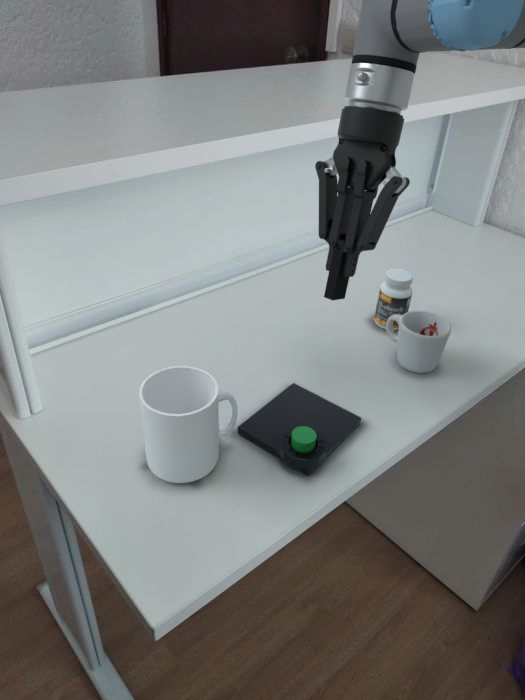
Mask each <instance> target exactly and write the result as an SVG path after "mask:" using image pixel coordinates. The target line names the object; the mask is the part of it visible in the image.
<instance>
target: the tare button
mask: <svg viewBox="0 0 525 700" xmlns="http://www.w3.org/2000/svg"><path fill="white" fill-rule="evenodd" d="M316 437H317V435H316V432H315V431H314V430H313V429H311V428H309V427H306V426H300V427H297V428H295V429H294V430H293V431H292V436H291V446H292V448H293V449H294V450H295V451H297V452H300V453H309V452H311V451H313V450H314V448H315V445H316Z"/></svg>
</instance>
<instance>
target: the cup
mask: <svg viewBox="0 0 525 700" xmlns="http://www.w3.org/2000/svg"><path fill="white" fill-rule="evenodd" d="M394 321H396V322H397V323H398V325H399V330H398V334H397V333H396V332H395V330H393V322H394ZM385 331H386V335H387V336H388V338H389V339H390V340H392V341H393V342H394V343H397V344H396V359H397V362H398V363H399V365H400V366H401V367H402V368H404V369H405V370H406V371H409V372H411V373H417V374H426V373H430V372H431V371H433V370H434V369H436V368H437V366H438V365H439V362H440V359H441V357H442V354H443V352H444V350H445V348H446V345H447V343H448V341H449V338H450V335H451V333H452V326H451V323H450V322H449V321H448V319H446V317H443V316H442V315H441V314H438V313H435V312H432V311H428V310H420V309H419V310H410V311H408V312H407V313H405V314H404V315H398V314H395V315H392V316H390V317H389V318H388V320H387V323H386V329H385Z"/></svg>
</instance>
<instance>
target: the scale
mask: <svg viewBox="0 0 525 700" xmlns="http://www.w3.org/2000/svg"><path fill="white" fill-rule="evenodd" d="M361 422H362V417H361V416H359V415H357V414H355V413H353V412H352V411H349V410H347V409H345V408H343V407H341V406H339V405H337V404H335V403H333V402H331V401H330V400H328V399H326V398H324V397H322V396H320V395H318V394H316V393H314V392H312V391H310V390H308V389H307V388H304V387H302V386H300V385H299V384H297V383H295V382H293V383H291V384H290V385H289V386H287V387H286V388H285V389H284V390H283V391H281V392H280V393H278V394H277V395H276V396H274V398H272V399H271V400H270V401H268V403H266V404H265V405H264V406H262V407H261V408H260V409H258V410H256V412H254V413H253V414H252V415H250V417H248V418H247V419H246V420H244V421H243V422H242V423H241V424H239V425H238V426H237V435H239V436H241V437H242V438H244V439H246V440H247V441H249V442H251V443H252V444H254V445H255V446H256V447H259V448H261V449H262V450H263V451H265V452H267V453H269V454H270V455H272V456H274V457H276V458H277V459H279V460H280V461H282V462H284V463H285V464H286V465H289V466H290V467H292V468H293V469H295V470H297V471H299V472H300V473H302V474H303V475H305V476H307V477H309V476H310V475H312V474H313V473H314V471H315V470H316V469H317V468H318V467H319V466H320V465H321V464H322V463H323V462H324V461H325V460H327V458H328V457H330V455H331V454H332V453H333V452H334V451H336V450H337V448H338V447H339V446H340V445H341V444H342V443H343V442H344V441H345V440H346V439H347V438H348V437H349V436H350V435H351V434H352V433H354V431H355V430H356V429H357V428H358V427H359V426H360V425H361ZM300 426H306V427H309V428H311V429H313V430H314V431H315V432H316V435H317V437H316V445H315V448H314V450H313V451H311V452H309V453H300V452H297V451H295V450H294V449H293V448H292V446H291V436H292V431H293V430H294V429H295V428H297V427H300Z"/></svg>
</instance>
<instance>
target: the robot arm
mask: <svg viewBox="0 0 525 700" xmlns="http://www.w3.org/2000/svg"><path fill="white" fill-rule="evenodd" d="M353 46H354V47H353V51H352V58H351V63H350V68H349V72H348V78H347V84H346V89H345V94H344V100H345V101H346V102H347V103H348V105H345V106H344V107H343V108H341V113H340V118H339V119H340V120H339V123H338V128H337V138H338V143H337V146H336V147H335V149H334V150H333V153H332V156H331V157H329V158H327V159H325V160H324V161H322V160H318V161H317V162H315V165H314V167H315V172H316V175H317V178H318V237H319V239H321V240H324V241H325V242H326V243H327V244H328V253H327V258H326V263H325V270H326V271H327V272H328V274H327V281H326V285H325V290H324V294H323V298H325V299H328V300H331V301H339V300H344V299H346V295H347V290H348V286H349V281H350V278H353V277H354V276H355V274H356V271H357V267H358V262H359V258H360V255H361V253H362V252H367V251H374V250H375V249H376V248H377V247H376V246H377V245H378V242H379V241H380V238H381V236H382V234H383V231H384V229H385V227H386V225H387V223H388V221H389V220H390V219H389V218H390V217H391V215H392V212H393V211H394V209H395V206H396V204H397V201H398V199H399V197H400V196H401V195H402V193H403V192H404V191H405V190H406V189H407V188H408V187H409V186H410V184H411V182H410V178H409V177H407V176H403V175H402V174H401V173H400V172H399V170H398V169H397V168H396V167H397V166H396V165H397V160H396V151H397V148H398V146H399V144H400V141H401V137H402V132H403V129H404V128H403V127H404V124H405V118H404V115H402V114H401V113H402V111H404V112H405V111H407V109H408V108H409V107H408V106H409V102H410V98H411V94H412V88H413V83H414V79H415V75H416V72H417V65H418V61H419V57H420V54H421V53H427V52H428V53H429V52H430V53H431V52H453V51H454V52H466V51H470V52H473V51H474V52H475V51H486V50H507V49H508V50H511V49H525V0H362V2H361V7H360V12H359V18H358V23H357V30H356V35H355V41H354V45H353ZM337 175H338V176H337ZM381 184H382V185H383V187H382V189H381V190H380V192H379V194H378V191H379V186H380V185H381ZM377 195H378V196H377ZM376 198H377V199H376ZM375 199H376V201H375ZM374 201H375V203H374ZM373 204H374V205H373Z"/></svg>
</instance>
